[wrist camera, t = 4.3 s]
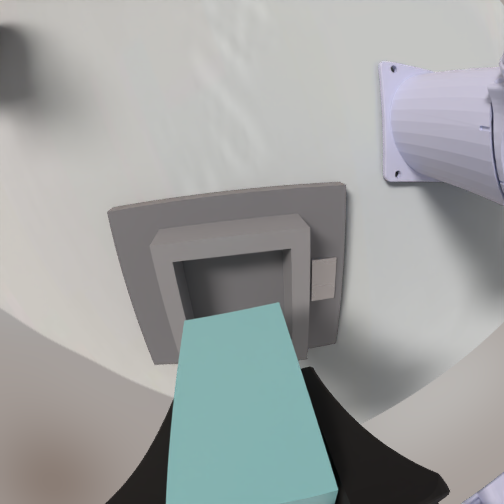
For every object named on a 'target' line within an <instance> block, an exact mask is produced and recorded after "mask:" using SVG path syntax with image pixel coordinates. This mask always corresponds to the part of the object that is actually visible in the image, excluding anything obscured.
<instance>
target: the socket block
mask: <svg viewBox="0 0 504 504" xmlns="http://www.w3.org/2000/svg"><path fill="white" fill-rule="evenodd" d="M107 214H108V218H109V223H110V227H111V231H112V235H113V239H114V243H115V247H116V251H117V255H118V259H119V262H120V266H121V269H122V273H123V276H124V280H125V283H126V286H127V289H128V293H129V296H130V299H131V302H132V305H133V308H134V311H135V314H136V317H137V320H138V323H139V325H140V328H141V331H142V334H143V336H144V339H145V342H146V344H147V347H148V350H149V352H150V355H151V357H152V360H153V362H154V365H159V364H178V361H179V354H180V347H181V340H182V333H183V326H184V321H185V320H191V319H197V318H202V317H208V316H213V315H219V314H224V313H229V312H234V311H239V310H244V309H249V308H254V307H259V306H263V305H268V304H273V303H277V302H279V304H280V307H281V310H282V313H283V316H284V319H285V322H286V325H287V328H288V331H289V334H290V338H291V341H292V344H293V347H294V350H295V353H296V356H297V359H298V360H304V359H307V352H308V349H309V348H314V347H320V346H325V345H330V344H335V343H336V339H337V331H338V322H339V313H340V302H341V291H342V279H343V264H344V246H345V221H346V185H345V184H343V183H341V182H329V183H312V184H298V185H284V186H272V187H261V188H251V189H241V190H232V191H223V192H214V193H206V194H198V195H190V196H183V197H176V198H169V199H162V200H155V201H149V202H142V203H136V204H130V205H124V206H119V207H113V208H112V209H110V210H109V211H108V212H107Z"/></svg>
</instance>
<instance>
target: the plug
mask: <svg viewBox="0 0 504 504" xmlns="http://www.w3.org/2000/svg"><path fill="white" fill-rule="evenodd" d="M337 493H338V487H337V484H336V481H335V477H334V474H333V471H332V468H331V464H330V461H329V458H328V455H327V451H326V448H325V445H324V442H323V439H322V435H321V432H320V429H319V426H318V422H317V419H316V416H315V413H314V410H313V407H312V403H311V400H310V397H309V394H308V391H307V388H306V384H305V381H304V378H303V375H302V372H301V369H300V366H299V362H298V359H297V356H296V353H295V350H294V347H293V344H292V341H291V338H290V334H289V331H288V328H287V325H286V322H285V319H284V316H283V313H282V310H281V307H280V304H279V302H277V303H273V304H268V305H263V306H259V307H254V308H249V309H244V310H239V311H234V312H229V313H224V314H219V315H213V316H208V317H202V318H197V319H191V320H185V321H184V326H183V333H182V340H181V347H180V354H179V361H178V369H177V377H176V386H175V394H174V403H173V413H172V423H171V434H170V445H169V458H168V473H167V490H166V504H335V501H336V497H337Z"/></svg>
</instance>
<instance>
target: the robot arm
mask: <svg viewBox="0 0 504 504" xmlns="http://www.w3.org/2000/svg"><path fill="white" fill-rule="evenodd" d="M391 67H393V68H394V73H393V72H392V71H391ZM378 70H379V80H380V92H381V106H382V127H383V177H384V179H385V180H387V181H389V182H446V183H448V184H451V185H454V186H457V187H459V188H462V189H464V190H467V191H470V192H472V193H475V194H477V195H479V196H482V197H484V198H487V199H489V200H491V201H494V202H496V203H498V204H500V205H503V206H504V53H503V56H502V57H501V59H500V62H499V67H486V68H471V69H459V70H450V71H441V72H433V71H430V70H426V69H422V68H418V67H413V66H409V65H404V64H399V63H394V62H389V61H383V62H380V63H379V65H378ZM396 171H398V176H397V177H395V172H396ZM301 372H302V375H303V378H304V381H305V384H306V388H307V391H308V394H309V397H310V400H311V403H312V407H313V410H314V413H315V416H316V419H317V422H318V426H319V429H320V432H321V435H322V439H323V442H324V445H325V448H326V451H327V455H328V458H329V461H330V464H331V468H332V471H333V474H334V477H335V481H336V484H337V487H338V493H337V497H336V501H335V504H438V502H439V501H441V500H442V499H443V498H445V497H446V496H447V495H449V492H450V490H449V488H448V486H447V484H446V483H445V482H444V480H443V479H442V477H441V476H440V475H439V474H438V473H436V472H433V471H431V470H429V469H427V468H424V467H422V466H420V465H418V464H416V463H414V462H413V461H411V460H409V459H407V458H405V457H404V456H402V455H400V454H399V453H397V452H396V451H394V450H393V449H391V448H389V447H388V446H386V445H385V444H383V443H382V442H381V441H380V440H378V439H377V438H376V437H374V436H373V435H372V434H371V433H369V432H368V431H367V430H366V429H365V428H363V427H362V426H361V425H360V424H359V423H358V422H357V421H356V420H355V419H354V418H353V417H352V416H351V415H350V414H349V413H348V412H347V411H346V410H345V409H344V408H343V407H342V406H341V405H340V403H339V402H338V401H337V400H336V399H335V398H334V397H333V395H332V394H331V393H330V392H329V390H328V389H327V388H326V387H325V385H324V384H323V382H322V381H321V380H320V378H319V377H318V375H317V374H316V372H315V370H314V368H312V367H306V368H302V369H301ZM173 403H174V399H173V401H172V404H171V406H170V408H169V411H168V413H167V415H166V417H165V419H164V422H163V423H162V426H161V427H160V430H159V432H158V434H157V435H156V437H155V439H154V441H153V443H152V445H151V446H150V448H149V450H148V452H147V453H146V455H145V456H144V458H143V460H142V461H141V463H140V464H139V466H138V467H137V468H136V470H135V471H134V472H133V474H132V475H131V476H130V477H129V479H128V480H127V481H126V483H125V484H124V485H123V486H122V487H121V488H120V489H119V491H117V492H116V494H114V496H113V497H112V498H111V499H110V500H109V501H108V502H106V504H166V490H167V473H168V458H169V445H170V434H171V423H172V413H173ZM461 504H504V472H503V473H502V474H500V475H499V476H498V477H497V478H495V479H494V480H493V481H491V482H490V483H489V484H487V485H486V486H485V487H483V488H482V489H481V490H479V491H478V492H477V493H475V494H474V495H473V496H471V497H469V498H468V499H466V500H465V501H463V502H462V503H461Z"/></svg>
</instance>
